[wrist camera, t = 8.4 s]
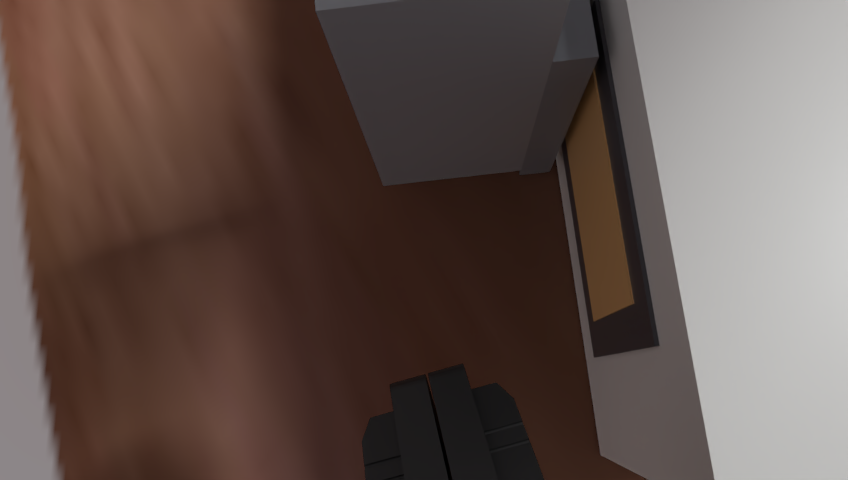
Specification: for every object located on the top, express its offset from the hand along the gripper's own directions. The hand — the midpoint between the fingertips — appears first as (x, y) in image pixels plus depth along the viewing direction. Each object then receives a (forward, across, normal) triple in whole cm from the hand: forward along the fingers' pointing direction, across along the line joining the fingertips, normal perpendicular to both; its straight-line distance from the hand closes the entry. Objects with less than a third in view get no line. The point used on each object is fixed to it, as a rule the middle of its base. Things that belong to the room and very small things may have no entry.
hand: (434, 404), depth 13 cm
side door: (+14, -3, -3) cm, 14 cm away
